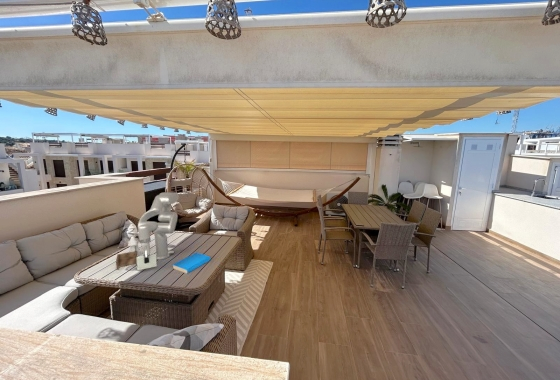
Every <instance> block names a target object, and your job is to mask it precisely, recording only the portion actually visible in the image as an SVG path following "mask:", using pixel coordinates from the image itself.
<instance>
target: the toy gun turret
mask: <svg viewBox="0 0 560 380" xmlns="http://www.w3.org/2000/svg"><path fill="white" fill-rule="evenodd" d="M136 235H137V234H134V235H132V236H131V238H130V240H128V238H127V239H125V242H126V243H127V246H128V247H129V251H128V252H133V251H137V256H143V252H142V250H141V249H140V248H139V244H140V243H139V237H138V238H137V237H136Z"/></svg>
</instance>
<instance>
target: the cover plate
mask: <svg viewBox="0 0 560 380" xmlns="http://www.w3.org/2000/svg"><path fill="white" fill-rule="evenodd" d="M147 256H148V258H149V263H144V256H143V255H139V256H138V257H137V266H136V268H137V271H141V270H147V269H150V268H155V267H158V266H157V259H156V253H150V255H147Z"/></svg>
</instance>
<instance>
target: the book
mask: <svg viewBox="0 0 560 380" xmlns="http://www.w3.org/2000/svg"><path fill="white" fill-rule="evenodd" d="M209 261H211V256H209V255H206V254H203V253H199V252H196V251H195V252H194V253H192V254H191V255H188V256H187V257H185V258H182V259H181V260H179V261H177V262H174V263H173V264H172V268H173V269H174V270H177V271H178V272H182V273H184V274H189V273H191V272H192V271H194V270H196V269H198V268H199V267H201V266H202V265H205V264H206V263H208V262H209ZM204 263H205V264H204Z"/></svg>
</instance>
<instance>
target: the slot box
mask: <svg viewBox="0 0 560 380" xmlns="http://www.w3.org/2000/svg"><path fill="white" fill-rule="evenodd" d="M137 257H139V255H137V251H133V252H129V251H128V252H124V253H119V254H117V255H116V259H115V266H116V271H119V270H120V268H124V267H128V266H133V265H135V267H137Z"/></svg>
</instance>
